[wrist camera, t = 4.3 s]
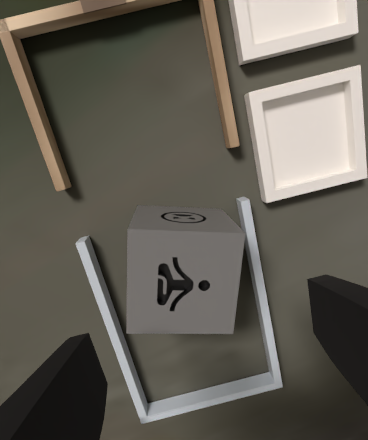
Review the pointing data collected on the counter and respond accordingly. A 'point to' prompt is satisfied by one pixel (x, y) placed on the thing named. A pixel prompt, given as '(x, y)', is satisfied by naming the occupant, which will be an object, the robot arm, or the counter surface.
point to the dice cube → (182, 270)
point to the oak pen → (84, 13)
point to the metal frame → (202, 396)
